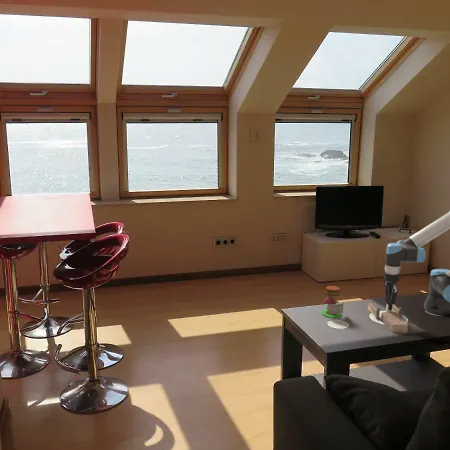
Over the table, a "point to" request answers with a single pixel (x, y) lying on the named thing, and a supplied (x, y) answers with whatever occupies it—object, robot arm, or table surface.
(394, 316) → the brick
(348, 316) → the table surface
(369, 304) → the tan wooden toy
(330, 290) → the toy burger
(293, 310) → the table surface
